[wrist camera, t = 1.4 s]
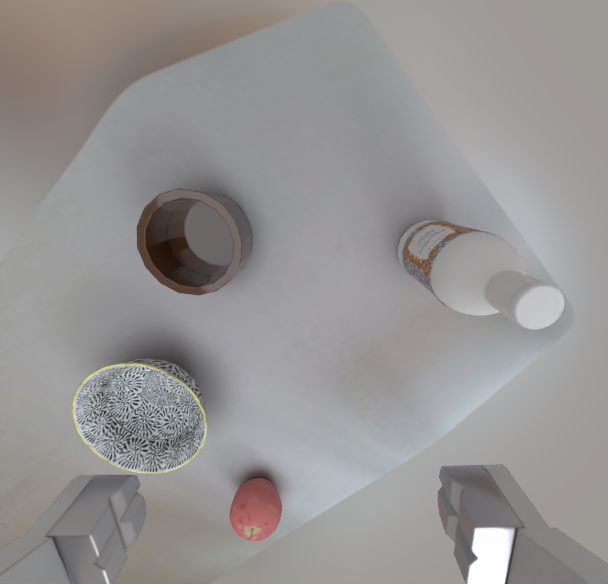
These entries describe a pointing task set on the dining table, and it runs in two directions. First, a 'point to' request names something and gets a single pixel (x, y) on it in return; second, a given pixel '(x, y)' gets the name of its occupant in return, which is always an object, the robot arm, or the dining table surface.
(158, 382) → the bowl
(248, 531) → the apple
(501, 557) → the robot arm
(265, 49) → the dining table surface
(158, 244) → the cup
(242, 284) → the dining table surface
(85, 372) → the dining table surface
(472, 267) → the bath foam
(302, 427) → the dining table surface
